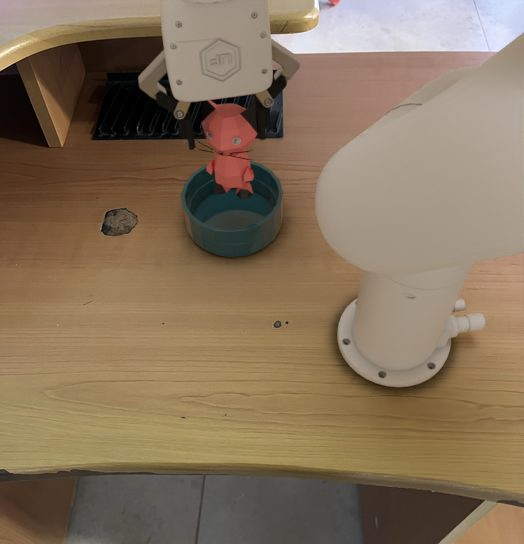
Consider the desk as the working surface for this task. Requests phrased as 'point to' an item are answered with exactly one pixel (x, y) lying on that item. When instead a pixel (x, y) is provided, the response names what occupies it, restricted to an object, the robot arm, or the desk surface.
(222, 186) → the cat figurine
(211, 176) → the bowl
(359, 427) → the desk surface
